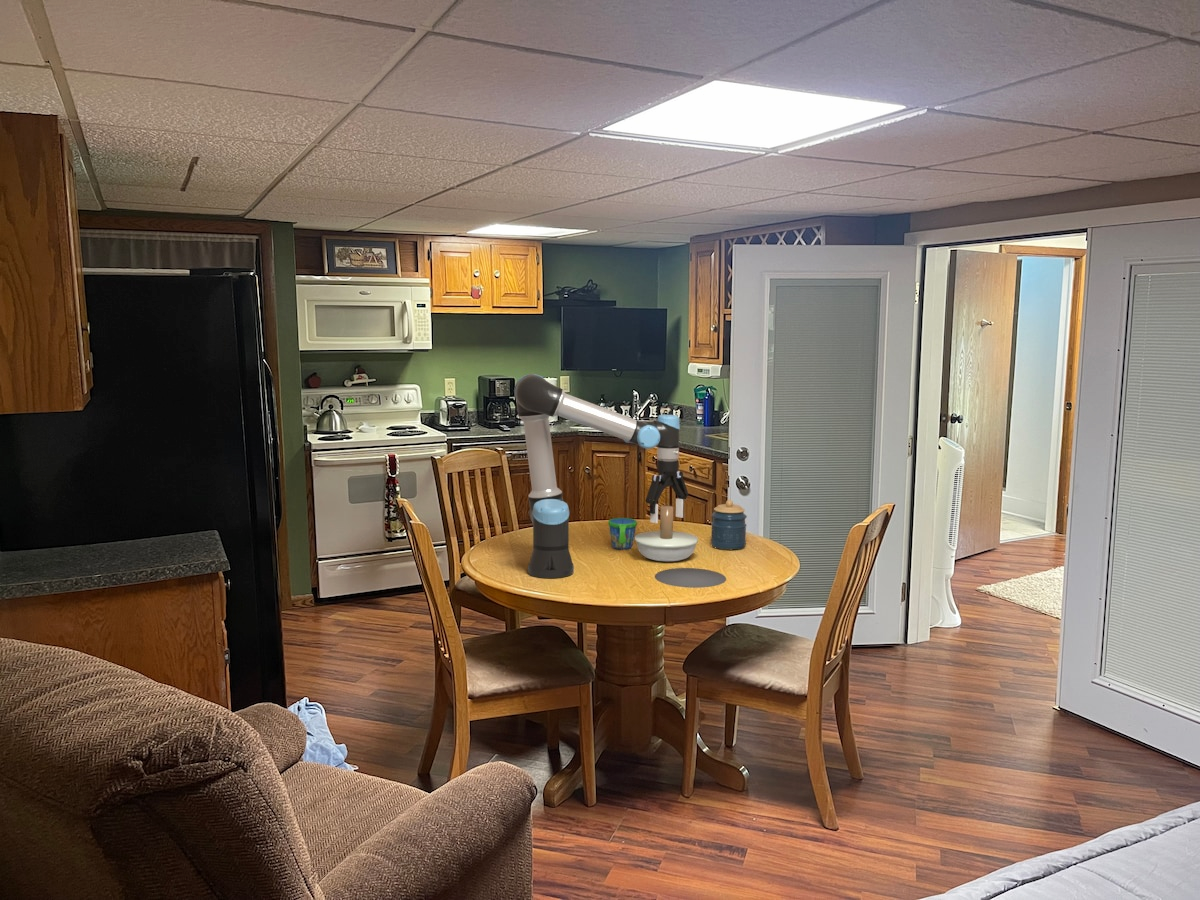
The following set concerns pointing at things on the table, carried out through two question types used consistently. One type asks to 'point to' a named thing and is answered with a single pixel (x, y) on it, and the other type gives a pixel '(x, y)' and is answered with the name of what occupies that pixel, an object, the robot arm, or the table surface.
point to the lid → (666, 533)
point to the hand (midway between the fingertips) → (666, 519)
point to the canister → (728, 526)
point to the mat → (690, 577)
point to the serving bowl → (666, 553)
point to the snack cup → (622, 532)
